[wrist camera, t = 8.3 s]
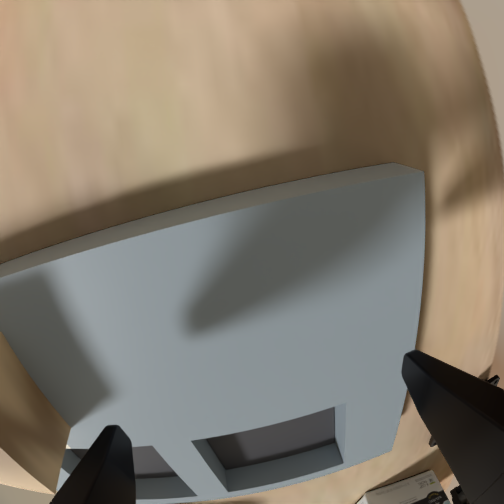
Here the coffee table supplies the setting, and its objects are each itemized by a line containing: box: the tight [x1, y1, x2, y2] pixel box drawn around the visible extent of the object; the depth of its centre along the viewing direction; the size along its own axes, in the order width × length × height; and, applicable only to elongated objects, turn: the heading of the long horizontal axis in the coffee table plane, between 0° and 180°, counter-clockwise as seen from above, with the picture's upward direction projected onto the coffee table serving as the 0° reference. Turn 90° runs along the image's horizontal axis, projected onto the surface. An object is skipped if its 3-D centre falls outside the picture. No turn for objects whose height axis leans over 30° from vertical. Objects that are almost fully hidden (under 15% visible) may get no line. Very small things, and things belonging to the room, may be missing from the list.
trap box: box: [0, 162, 425, 504], centre depth 13 cm, size 18×24×2 cm
